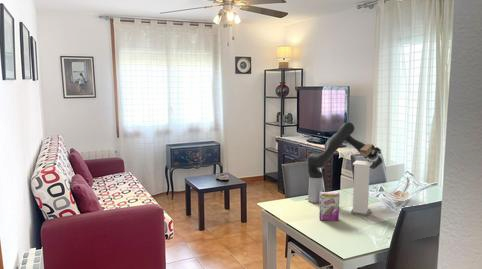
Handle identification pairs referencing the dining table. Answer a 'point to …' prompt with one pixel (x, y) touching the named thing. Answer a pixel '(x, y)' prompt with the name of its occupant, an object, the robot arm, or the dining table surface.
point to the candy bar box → (329, 206)
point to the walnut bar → (366, 150)
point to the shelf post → (361, 188)
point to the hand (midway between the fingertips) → (368, 146)
